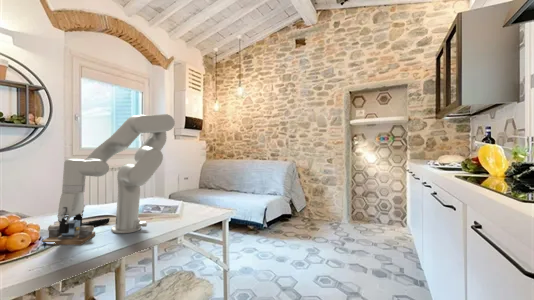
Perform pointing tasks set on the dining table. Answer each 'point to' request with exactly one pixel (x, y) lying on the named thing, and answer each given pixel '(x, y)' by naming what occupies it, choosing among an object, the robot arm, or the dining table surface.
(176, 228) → the dining table surface
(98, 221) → the electric trimmer
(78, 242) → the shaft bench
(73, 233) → the blue grey block
